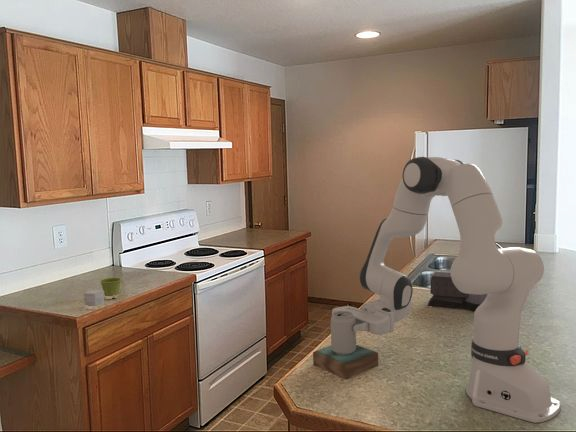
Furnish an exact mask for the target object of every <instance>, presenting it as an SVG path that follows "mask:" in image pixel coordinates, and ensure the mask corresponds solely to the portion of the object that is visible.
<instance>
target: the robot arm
mask: <svg viewBox="0 0 576 432" xmlns="http://www.w3.org/2000/svg"><path fill="white" fill-rule="evenodd" d="M436 196H440V197H441V196H442V197H445V196H446V197H448V200H449V204H450V207H451V208H452V212H453V215H454V218H455V220H456V225H457V228H458V231H459V232H458V233H459V236H460V237H459V239H460V246H459V251H458V253H457V256H456V257H455V258H454V260H453V261H452V264H451V267H450V273H451V278H452V281H453V283H454V285H455V287H456V288H457V289H458V290H459V291H461V292H462V293H466V294H476V295H483V294H488V295H487V297H486V299H485V300H484V302H483V303H482V304H481V305H480V306H479V307H478V308H477V309H476V311H475V312H474V314H473V335H472V336H473V337H472V340H471V349H470V350H471V351H470V354H471V359H472V360H471V368H470V373H469V379H468V382H467V385H466V388H465V392H466V394H467V396H468V397H469V398H470V399H471V404H472V405H473V406H476V407H479V408H482V409H485V410H489V411H492V412H496V413H499V414H503V415H506V416H509V417H513V418H516V419H519V420H523V421H526V422H531V423H543V422H546V421H549V420H552V419H553V418H554V417H556V416H557V415H558V414H559V413H560V411H561V402H560V400H558V399H556V398H554V397H552V395H551V389H550V384H549V383H548V381H547V379H545V377H543V376H542V375H541V374H540V373H539V372H538V371H536V369H535V368H534V367H533V366H531V364H529V363H528V361H527V360H526V357H527V356H528V355H529V349H526V350H525V351H524V350H523V349H522V346H521V344H520V329H521V326H520V325H521V317H522V313H523V309H524V306H525V304H526V301H527V299H528V297H529V295H530V293H531V291H532V290H533V288H534V287H535V286H536V285H537V284H538V283H539V282H540V281H541V280H542V278H543V276H544V273H545V266H544V262H543V259H542V258H541V256H540V254H538V252H536V251H535V250H533V249H531V248H527V247H526V248H525V247H517V246H511V247H505V248H504V247H502V248H498V247H497V245H496V237H495V236H496V234H497V233H498V232H499V231H500V230H501V228H502V226H503V217H502V215H501V212H500V210H499V207H498V204H497V202H496V199H495V197H494V195H493V191H492V189H491V187H490V185H489V183H488V181H487V180H486V177H485V176H484V174H483V173H482V171H481V170H480V168H479V167H478V166H477V165H475V164H473V163H466V162H464V161H462V160H459V159H451V158H444V157H440V156H429V157H426V156H417V157H414V158H411V159H410V160H408V161H407V162H406V163H405V165H404V167H403V170H402V178H401V181H400V182H399V185H398V187H397V190H396V192H395V195H394V199H393V204H392V208H391V211H390V214H389V215H388V217H386V218H384V219H383V220H382V221H381V222H380V224H379V225H378V228H377V229H376V232H375V235H374V237H373V241H372V243H371V246H370V249H369V251H368V254H367V257H366V260H365V262H364V264H363V265H362V267H361V269H360V271H359V276H358V277H359V282H360V285H361V287H362V288H363V289H364V290H367V291H369V292H372V293H375V294H376V295H378V296H379V299H378V298H377V299H375V300H372V301H368V302H365V303H363V304H362V305H361V306H360V308H359V307H354V306H350V305H345V306H338V307H334V308H332V310H331V317H332V316H333V313H334V312H337V311H349V312H352V313H353V316H354V317H355V319H356V324H354V325H352V326H351V328H352V329H351V330H352V331H354V332H356V333H357V332H367V333H371V334H373V335H375V336H376V335H379V336H382V335H385V334H388V333H394V331H395V324H396V323H399V322H401V321H403V320H404V319H406V318H407V317H408V316H409V315H410V314H412V313H411V312H412V309H413V303H412V296H413V283H412V280H411V278H410V276H408V275H405V274H404V273H402V272H400V271H397V270H395V269H393V268H391V267H388V266H386V265H385V257H386V254H387V252H388V249H389V247H390V244H391V243H392V241H393V240H394V239H397V238H409V237H413V236H416V235H418V234H420V233H421V232H422V231H423V230H424V228H425V227H426V224H427V221H428V215H429V212H430V211H429V210H430V206H431V203H432V200H433V198H435V197H436Z"/></svg>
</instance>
